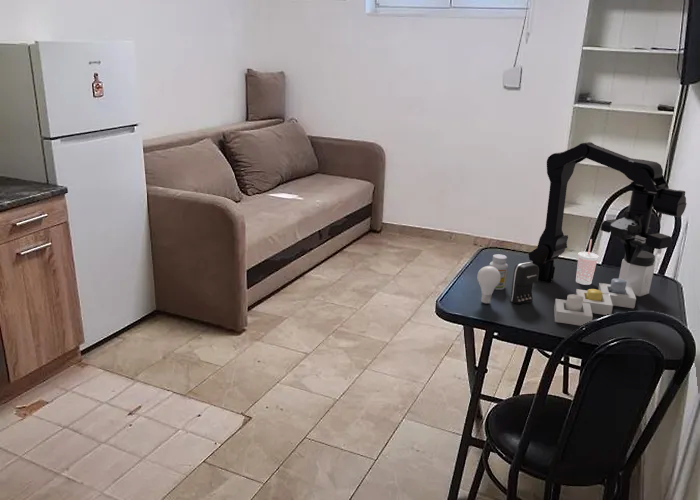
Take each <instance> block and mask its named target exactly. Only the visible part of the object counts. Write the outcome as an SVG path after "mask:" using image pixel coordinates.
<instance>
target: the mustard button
mask: <svg viewBox="0 0 700 500" xmlns="http://www.w3.org/2000/svg"><path fill="white" fill-rule="evenodd" d="M602 294H603V292H602V291H600V290H598V289H596V288H589V289H587V296H586V299H588V300H595V301H601V299H602Z"/></svg>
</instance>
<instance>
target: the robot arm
mask: <svg viewBox="0 0 700 500" xmlns="http://www.w3.org/2000/svg"><path fill="white" fill-rule="evenodd" d="M585 159H587V160H591V161H592V162H595V163H598V164H600V165H602V166H604V167H605V166H606V167H607V168H611V169H613V170H614V171H618V172H619V173H622V174H623V175H625V177H626V178H627V179H629V180H630V181H632V182H630V183H628V185H626V186H625V187H624V190H626V191H630V192H631V197H630V200H629V206H628V210H625V212H624V213H623V215H622V218H619V219H616V218H614V219H607V220H603V222H601V225H600V231H602V232H605V233H609V234H610V235H611V236H612V237H616V238H617V240H620V242H621V243H622V244H623V248H624V255H625V254H626V259H627V263H629V264H630V263H632V262H633V261H634V260H635V258H636V257H637V256H638V255H639V253H640V252H641V251H642V250H643V251H644V249H645V248H646V246H647V247H649V248H653V249H655V250H662V249H668V248H672V246H673V239H672V237H671V236H669V235H666V234H663V233H660V232H658V233H651V231H652V227H650V223H651V218H654V217H655V213H653V210H654V211H655V212H656V213H657V214H662V215H666V216H672V217H676V218H681V217H682V216H683V214H684V213H685V210H686V207H687V205H688V204H687V198H686V191H685V190H681V189H679V190H676V189H673V188H669V187H670V186H669V185H668V182H667V180H666V179H665V176H664V171H663V167H662V165H661V164H660V163H659V162H656V161H652V160H648V159H647V160H646V159H640V158H639V159H638V158H632V157H629V156H626V155H623V154H620V153H618V152H615V151H613V150H609V149H607V148H605V147H602V146H600V145H597V144H595V143H593V142H591V141H589V142H587V141H586V142H581V143H580V144H578V145H576V146H574V147H572V148H570V149H567V150H565V151H562V152H555V153H551V155H549V156H547V160H546V174H547V177H548V179H549V191H548V202H547V209H546V210H547V211H546V220H545V228H544V230H543V232H542V233H541V236H539V240H538V244H537V247H536V248H535V249H533V250H531V251H530V252H529V253H528V259H529V261H530V262H532V263H533V264H535V265H537V266H538V267H539V276H538V282H544V283H545V282H546V283H552V280H553V279H554V277H555V271H556V265H555V260H557V259H558V258H559V256H561V255H562V254H563V253H564V252H565V250H566V249H568V239H569V236H568V235H565V234H564V232H563V221H564V214H565V213H564V212H565V207H566V206H565V205H566V197H567V189H568V182H569V180H570V179H571V177H572V176H573V174H574V172H575V167H576V165H577V164H579V163H580V162H583V161H584V160H585ZM650 233H651V234H650Z"/></svg>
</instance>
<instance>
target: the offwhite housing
mask: <svg viewBox="0 0 700 500" xmlns="http://www.w3.org/2000/svg"><path fill="white" fill-rule="evenodd" d="M566 302H567V299H559V298H555V301H554V306H553V312H554V322H555V323H562V324H569V325H575V326H581V325H583V324H585V323H587V322H589V321H592V322H593V313H592V311H591V306H590V304H589V303H582V309H581V312H577V311H570V310H565V308H566ZM581 327H582V326H581Z"/></svg>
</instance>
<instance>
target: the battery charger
mask: <svg viewBox="0 0 700 500" xmlns="http://www.w3.org/2000/svg"><path fill="white" fill-rule="evenodd" d="M538 276H539V267H538V266H537V265H535V264H533V263H532V261H527V262H520V263H518V264H516V265H515V266H514V270H513V276H512V283H511V293H510V299H509V300H510V302H511V303H514V304H516V305H522V304H528V303H531V302H533V300H534V299H533V293H532V291H533V286H534V284H535V283H538V282H539V281H538Z"/></svg>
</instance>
